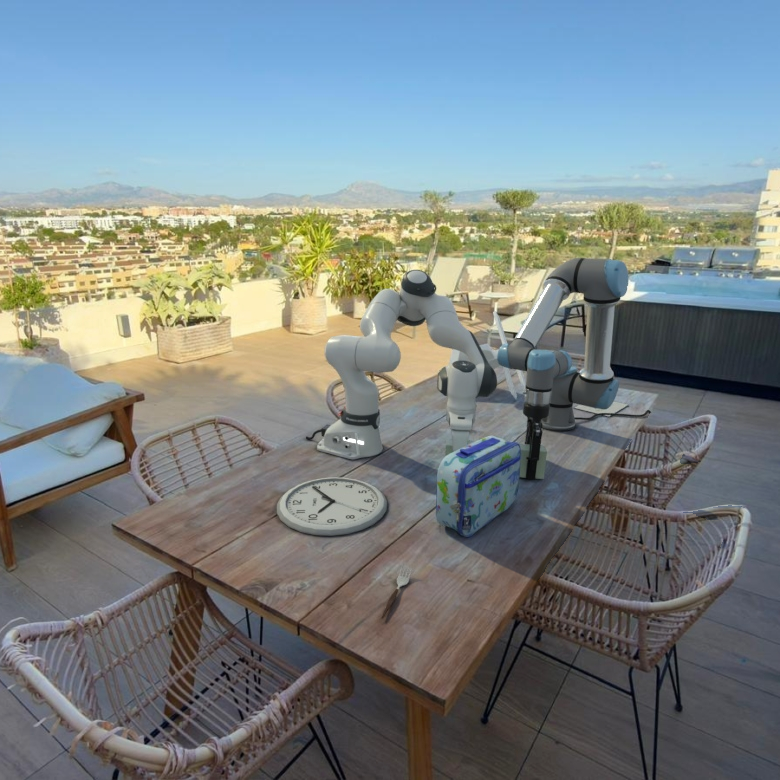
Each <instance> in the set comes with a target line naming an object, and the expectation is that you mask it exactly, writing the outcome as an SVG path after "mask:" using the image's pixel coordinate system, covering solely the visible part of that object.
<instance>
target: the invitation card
mask: <svg viewBox="0 0 780 780" xmlns="http://www.w3.org/2000/svg"><path fill="white" fill-rule="evenodd" d="M628 406H629V404H627V403H623V402H618V401H615V400H614V401H613V403H612V405H611V406H610V407H609V408H608V409H605V410H603V409H598V408H596V409H595V408H593V407H588V406H584V405H580V404H577V405H575V406H574V407H573V409H575V410H581V411H584V412H587V413H593V414H598V413H615V414H617V413H618V412H619V411H621V410H623V409H624V408H626V407H628ZM603 416H604V417H608V418H609V417H611V416H612V415H603Z"/></svg>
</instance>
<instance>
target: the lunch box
mask: <svg viewBox="0 0 780 780" xmlns="http://www.w3.org/2000/svg"><path fill="white" fill-rule="evenodd" d="M475 441H476V442H474V443H471V444H469V445H467V446H465V447H463V448H461V449H459V450H457V451H455V452H453V453H450V454H449V455H447V456H444V457H443V458H442V459H441V460H440V463H439V465H438V467H437V474H436V485H435V486H436V494H435V495H436V497H435V498H436V499H435V516H436V522H437V523H438V524H440V525H442V526H445V527H448V528H450V529H453V530H454V531H456V532H458V534H459V535H461V537H465V538H470V537H471V536H473V535H475V534H476V533H477V532H478V531H479V530H480V529H482V528H483V527H485V526H486V525H488V524H489V523H490V522H491V521H493V520H494V519H495V518H496V517H497V516H499V515H501V514H502V513H504V512H505V511H507V510H508V509H510V508H511V507H512V506H513V504H514V502H515V500H516V498H517V495H518V494H517V493H518V491H519V483H520V477H519V475H520V459H521V449H520V445H519V444H520V443H518V442H516V441H509V440H506V439H504V438H501V437H498V436H496V435H488V436H485V437H483V438H480V439H478V440H475Z"/></svg>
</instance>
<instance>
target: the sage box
mask: <svg viewBox="0 0 780 780" xmlns="http://www.w3.org/2000/svg"><path fill="white" fill-rule="evenodd" d="M445 440H446V441H445V456H447V455H449V454H450V453H453V447H452V438H446V439H445ZM476 441H477V440H468V445H469V444H471V443H474V442H476ZM518 444H519V445H520V449H521V459H520V475H519V478H524V479H526V470H527V461H528V459H526V457H529V447H530V444H525V443H518ZM547 455H548V451H547V448H546V446H545V445H544V444H541V445H540V454H539V461H537V468H536V476H535V479H538V480H539V479H540V480H544V479H545V472H546V463H547ZM445 456H444V457H445Z"/></svg>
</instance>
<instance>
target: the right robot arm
mask: <svg viewBox="0 0 780 780" xmlns="http://www.w3.org/2000/svg"><path fill="white" fill-rule="evenodd" d="M628 287H629V270H628V266H627V265H626V263H625V262H624V261H622V260H619V259H612V258H584V257H576V258H571V259H569V260H566V261H564V262H563V263H561V264H559V265H558V266H557V267H556V268H555V269H553V270H552V271H551V272H550V273H549V274H548V276H547V277H546V278H545V280H544V282H543V284H542V291H541V293H540V294H539V296H538V298H537V300H536V302H535V303H534V305H533V307H532V308H531V310H530V311H529V313H528V315H527V316H526V318H525V320H524V322H523V324H522V325H521V327H520V328H519V330H518V332H517V334H516V335H515V337H514V339H513V340H512V342H511V343H507V344H503V345H502V344H501V346H500V347H499V348H498V349H499V350H498V349H497V350H498V354H497V360H498V363H499V365H500V367H502V366H503V367H506V368H509V370H516V371H517V370H521V371H523V372H526V377H525V381H526V388H525V390H526V391H523V390H522V395H524V397H523V399H524V402H523V406H522V414H523V415H524V416H525V417H526V419H527V420H526V429H525V430H526V431H525V440H524V444H530V447H529V457H526V459H528V461H527V470H526V478H525V479H529V480H536V478H535V476H536V468H537V461H539V454H540V445H542V444H541V443H542V436H543V432H544V430H549V431H556V432H567V431H572V430H574V429H575V428H576V420H581V421H590V420H593V419H595V418H596V417H598V416H604V415H611V416H618V417H629V418H631V417H632V418H642V417H645V416H646V415H647V414H648V413H649V414H651V413H652V412H651V410H650V409H647V410H645V412H644V413H643V414H630V413H598V414H596V413H594V414H593V415H592V416H590V417H580V416H579V417H577V416H575V413H574V407H573V405H574V404H576V405H584V406H588V407H593V408H595V409H596V408H598V409H603V410H605V409H608V408H609V407H610V406H611V405H612V403H613V401H614V402H615V399H616V397H617V394H618V391H619V389H620V388H619V387H620V381H619V380H618V379H616V378H614V376H615V374H614V371H613V370H612V369H611V356H612V346H613V345H612V344H613V332H614V323H615V322H614V321H615V320H614V319H615V309H616V308H615V307H616V305H617V304H618V303H620V302H621V298H622V297H624V296H625V295H626V294H627V292H628ZM574 293H577V294H583V298H582V299H583V302H584V303H585V304H586V305H587V312H586V313H587V314H586V330H585V347H584V363H583V368H581V369H580V370H579V372H578V368H577V366H573V358H572V357H571V355H570V354H569V353H568V352H567V351H565V350H563V349H562V350H561V349H559V350H554V351H553V350H548V349H538V348H537V347H538V345H539V344H540V342H541V340H542V338H543V337H544V335H545V333H546V331H547V330H548V328H549V326H550V324H551V322H552V321H553V319H554V317H555V315H556V314H557V312H558V310H559V308H560V306H561V305H562V303H563V301H566V300H567V299H568V298H569V297H570V296H571V294H574ZM503 367H502V368H503ZM543 429H544V430H543Z"/></svg>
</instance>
